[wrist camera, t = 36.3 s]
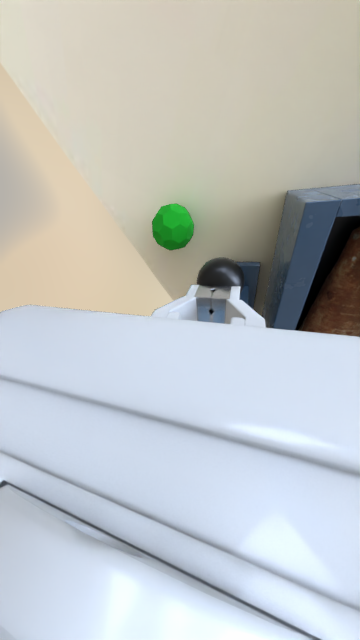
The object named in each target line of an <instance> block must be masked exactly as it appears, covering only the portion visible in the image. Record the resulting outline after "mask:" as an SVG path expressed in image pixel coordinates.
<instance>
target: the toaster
mask: <svg viewBox="0 0 360 640" xmlns="http://www.w3.org/2000/svg"><path fill="white" fill-rule="evenodd" d="M359 226H360V184H352V185H342V186H331V187H321V188H310V189H300V190H290V191H287V193H286V198H285V203H284V208H283V213H282V218H281V223H280V228H279V233H278V238H277V243H276V248H275V253H274V258H273V263H272V268H271V272H270V277H269V282H268V287H267V292H266V297H265V302H264V307H263V312H262V317H263V318H264V319H265V325H266V328H274V329H285V330H295V331H298V329H299V328H300V326H301V324H302V323H303V321H304V319H305V318H306V315H307V314H308V311H309V309H310V307H311V306H312V304H313V302H314V301H315V299H316V297H317V295H318V293H319V291H320V289H321V287H322V285H323V283H324V281H325V279H326V278H327V276H328V274H329V273H330V272H331V270H332V268H333V267H334V265H335V263H336V262H337V260H338V258H339V256H340V254H341V253H342V251H343V249H344V247H345V245H346V243H347V241H348V239H349V237H350V235H351V233H352V231H353V230H354V229H356V228H358V227H359ZM359 337H360V336H359Z"/></svg>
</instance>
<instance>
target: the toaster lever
mask: <svg viewBox="0 0 360 640" xmlns="http://www.w3.org/2000/svg"><path fill="white" fill-rule="evenodd" d="M197 285H208V286H231V287H232V286H240V293H241V292H242V290H243V287H244V273H243V271H242V269H241V267H240V266H239V265H238V264H237V263H236V262H235V261H233V260H231V259H229V258H224V257H220V258H215V259H212V260H210V261H208V262H207V263H206V264H205V265H204V266H203V267H202V268H201V270H200V271H199V274H198V277H197Z"/></svg>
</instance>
